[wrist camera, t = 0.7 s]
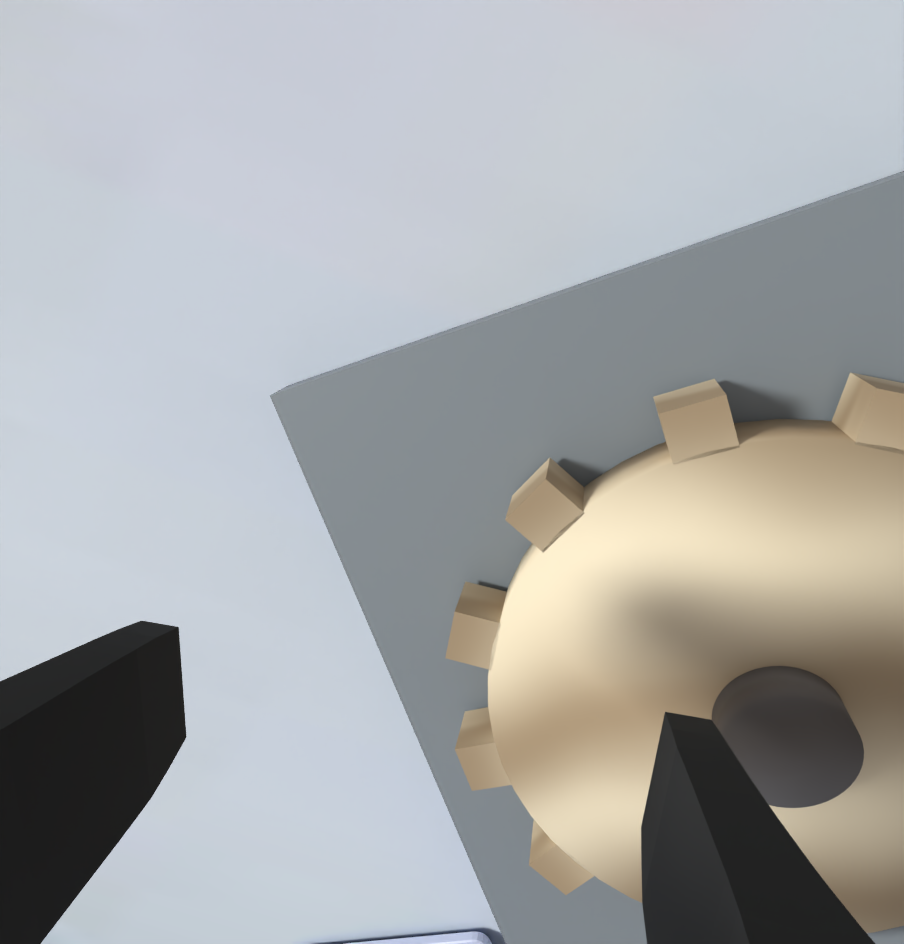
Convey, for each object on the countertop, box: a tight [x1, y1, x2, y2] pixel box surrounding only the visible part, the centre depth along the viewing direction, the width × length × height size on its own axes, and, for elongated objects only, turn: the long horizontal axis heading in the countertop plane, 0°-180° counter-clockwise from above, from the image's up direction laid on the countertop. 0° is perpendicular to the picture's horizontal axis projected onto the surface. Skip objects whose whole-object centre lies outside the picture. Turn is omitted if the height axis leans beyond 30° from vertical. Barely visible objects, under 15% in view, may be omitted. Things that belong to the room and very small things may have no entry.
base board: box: [270, 171, 904, 944], centre depth 19 cm, size 22×20×3 cm
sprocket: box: [445, 372, 904, 933], centre depth 16 cm, size 16×16×5 cm
